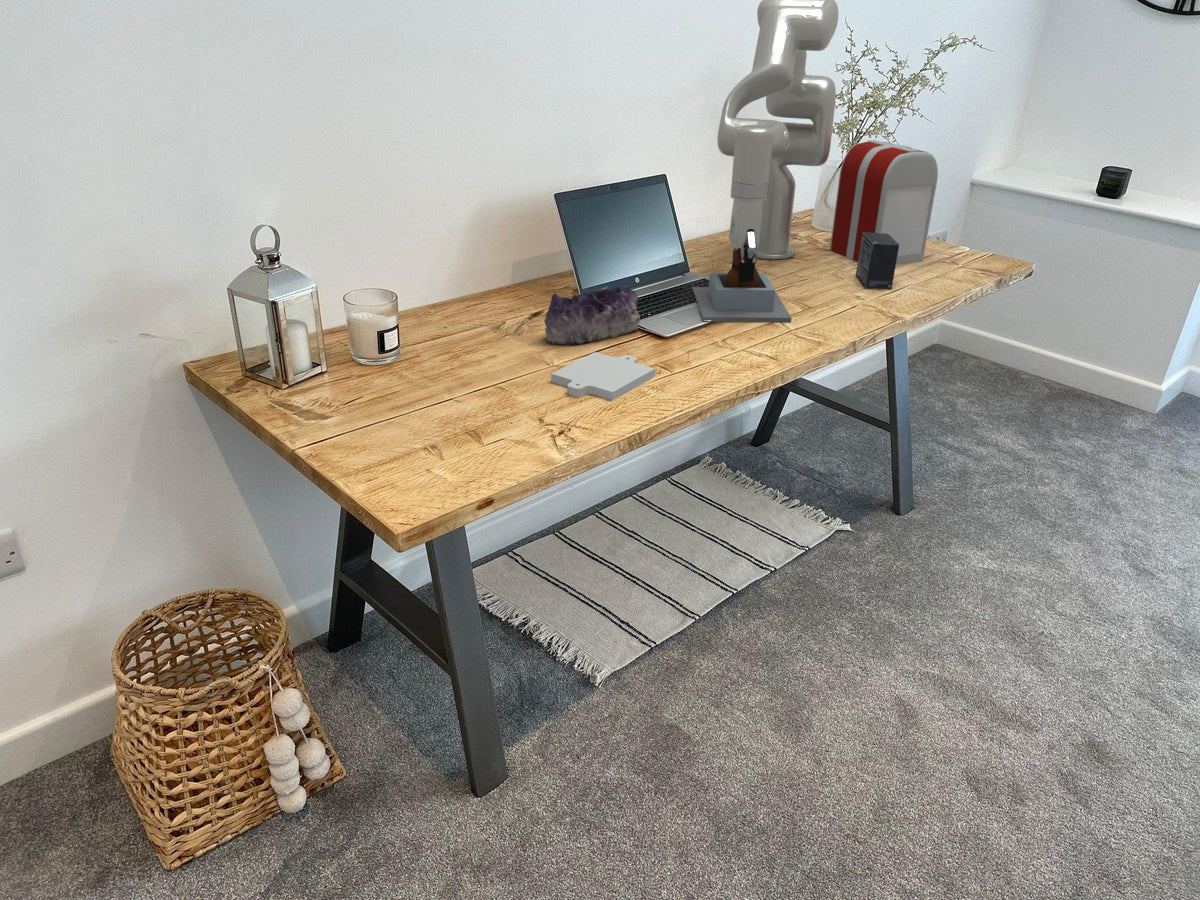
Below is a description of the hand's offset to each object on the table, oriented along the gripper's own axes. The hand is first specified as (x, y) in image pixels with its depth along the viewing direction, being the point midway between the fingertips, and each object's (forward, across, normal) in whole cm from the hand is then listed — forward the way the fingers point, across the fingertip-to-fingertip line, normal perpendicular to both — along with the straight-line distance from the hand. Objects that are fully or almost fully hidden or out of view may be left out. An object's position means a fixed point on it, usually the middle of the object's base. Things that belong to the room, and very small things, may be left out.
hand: (742, 274), depth 194 cm
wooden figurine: (+6, 0, 0) cm, 6 cm away
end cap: (+7, 0, 0) cm, 7 cm away
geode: (+7, +18, -32) cm, 37 cm away
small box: (+7, -18, +34) cm, 39 cm away
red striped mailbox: (+7, -41, +41) cm, 58 cm away
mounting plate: (+7, +40, -30) cm, 51 cm away
